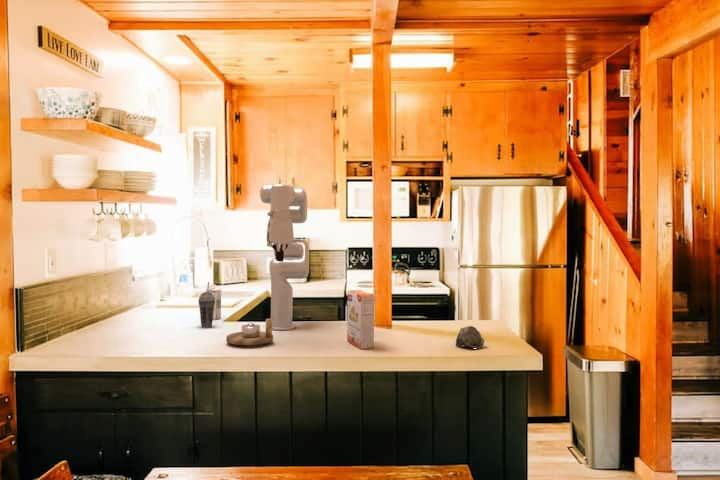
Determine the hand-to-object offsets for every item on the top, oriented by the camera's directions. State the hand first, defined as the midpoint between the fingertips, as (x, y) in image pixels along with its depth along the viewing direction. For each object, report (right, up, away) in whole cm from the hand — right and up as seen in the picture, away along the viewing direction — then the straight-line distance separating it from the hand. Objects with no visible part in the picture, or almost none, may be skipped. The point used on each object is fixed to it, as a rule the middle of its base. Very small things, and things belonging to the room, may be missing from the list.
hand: (279, 261), depth 233 cm
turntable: (-11, -31, -4) cm, 33 cm away
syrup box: (-38, -30, +45) cm, 66 cm away
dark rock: (+75, -34, -4) cm, 83 cm away
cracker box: (+32, -33, -4) cm, 46 cm away
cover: (-11, -29, -5) cm, 32 cm away
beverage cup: (-36, -30, +26) cm, 54 cm away
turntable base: (-11, -32, -4) cm, 34 cm away
